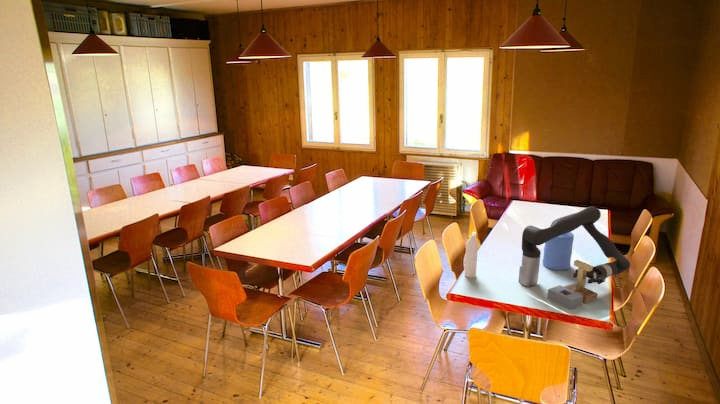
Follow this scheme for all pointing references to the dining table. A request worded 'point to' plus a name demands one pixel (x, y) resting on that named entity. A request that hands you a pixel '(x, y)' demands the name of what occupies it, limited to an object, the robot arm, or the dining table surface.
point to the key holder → (565, 297)
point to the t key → (581, 274)
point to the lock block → (583, 293)
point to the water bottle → (471, 256)
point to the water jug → (558, 252)
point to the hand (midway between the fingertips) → (581, 278)
